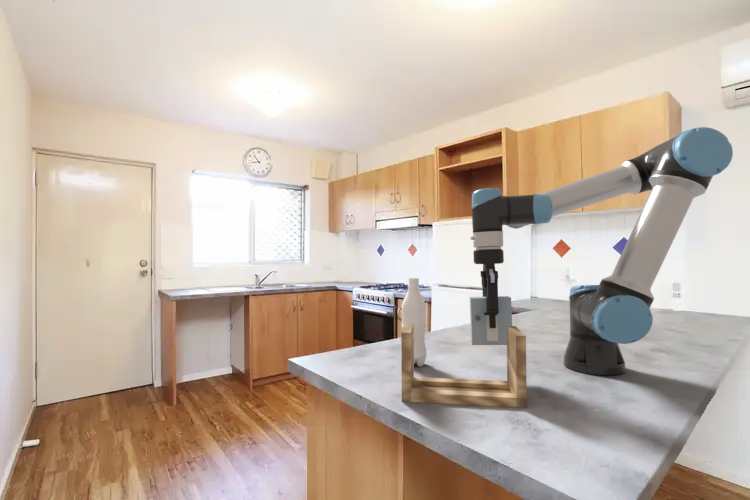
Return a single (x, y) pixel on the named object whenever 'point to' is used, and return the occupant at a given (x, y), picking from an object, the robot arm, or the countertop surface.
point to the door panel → (479, 320)
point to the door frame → (467, 389)
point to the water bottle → (415, 319)
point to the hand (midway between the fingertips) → (491, 338)
